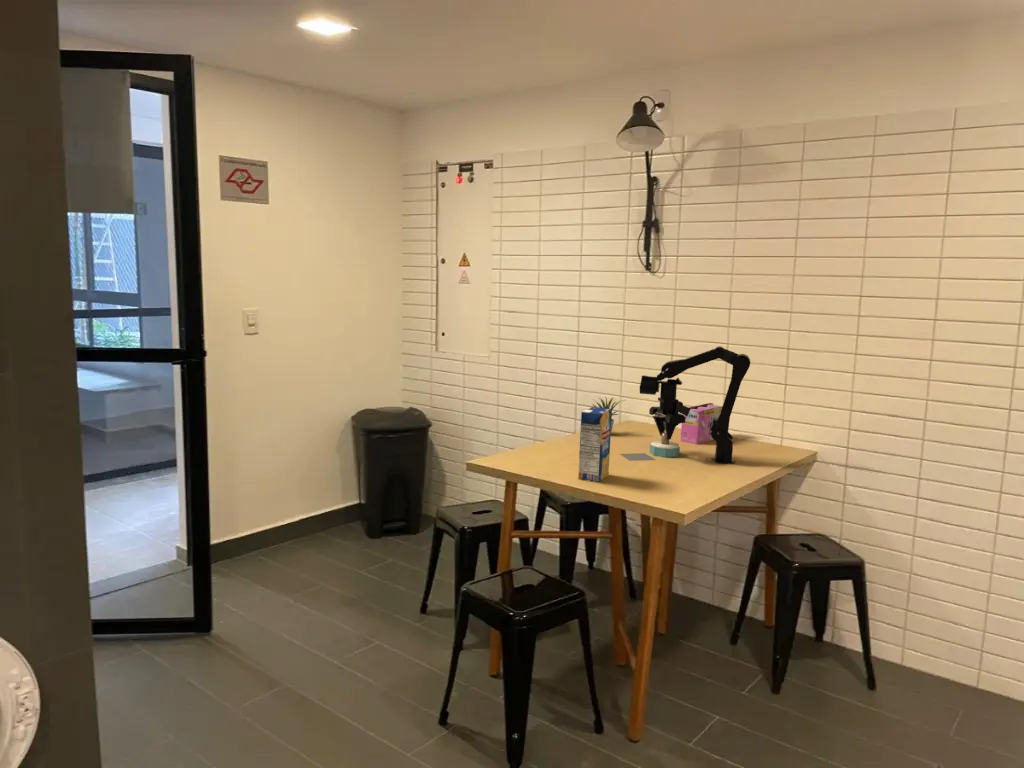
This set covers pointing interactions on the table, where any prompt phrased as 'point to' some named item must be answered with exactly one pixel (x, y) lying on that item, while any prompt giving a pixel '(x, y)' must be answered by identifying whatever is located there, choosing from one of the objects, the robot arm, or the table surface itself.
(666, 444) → the lid
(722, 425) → the robot arm
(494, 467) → the table surface
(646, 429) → the table surface
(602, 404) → the house plant
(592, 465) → the beverage box
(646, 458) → the mat
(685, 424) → the gum box
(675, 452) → the bowl
